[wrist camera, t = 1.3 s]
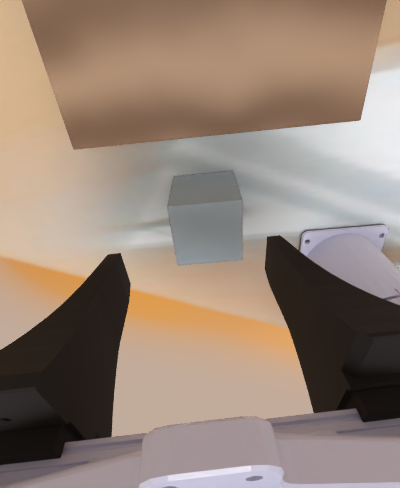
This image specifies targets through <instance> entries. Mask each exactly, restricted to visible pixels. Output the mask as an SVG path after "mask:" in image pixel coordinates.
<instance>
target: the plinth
mask: <svg viewBox="0 0 400 488" xmlns="http://www.w3.org/2000/svg"><path fill="white" fill-rule="evenodd" d="M22 2H23V5H24V8H25V11H26V14H27V17H28V20H29V22H30V25H31V28H32V31H33V34H34V37H35V40H36V43H37V45H38V48H39V51H40V54H41V57H42V60H43V63H44V66H45V69H46V71H47V74H48V77H49V80H50V83H51V86H52V89H53V92H54V94H55V97H56V100H57V103H58V106H59V109H60V112H61V115H62V117H63V120H64V123H65V126H66V129H67V132H68V135H69V138H70V140H71V143H72V146H73V149H84V148H94V147H103V146H113V145H123V144H133V143H143V142H153V141H162V140H172V139H182V138H192V137H202V136H211V135H221V134H231V133H241V132H251V131H261V130H270V129H280V128H290V127H300V126H310V125H320V124H329V123H339V122H349V121H359V120H360V119H361V115H362V110H363V106H364V101H365V96H366V92H367V87H368V83H369V78H370V74H371V69H372V64H373V60H374V55H375V51H376V46H377V42H378V37H379V32H380V28H381V23H382V19H383V14H384V10H385V5H386V0H22Z"/></svg>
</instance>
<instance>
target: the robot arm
mask: <svg viewBox="0 0 400 488" xmlns="http://www.w3.org/2000/svg"><path fill="white" fill-rule="evenodd" d="M387 233H388V227H387V226H386V225H374V226H362V227H350V228H338V229H326V230H314V231H306V232H304V233H303V234H302V238H301V245H300V251H299V250H297V249H296V248H295V247H294V246H292V245H291V244H290V243H289V242H287V241H286V240H285V239H284V238H282V237H281V236H280V235H279V236H270V237H267V247H266V260H265V271H266V274H267V278H268V281H269V284H270V287H271V289H272V292H273V294H274V296H275V299H276V301H277V303H278V305H279V307H280V310H281V312H282V314H283V316H284V319H285V321H286V323H287V325H288V328H289V330H290V333H291V336H292V339H293V342H294V345H295V348H296V352H297V355H298V358H299V361H300V365H301V368H302V371H303V375H304V378H305V382H306V385H307V389H308V392H309V396H310V400H311V404H312V407H313V412H314V413H312V414H304V415H296V416H287V417H278V418H270V419H262V418H259V417H234V418H225V419H217V420H208V421H200V422H191V423H184V424H175V425H167V426H163V427H159V428H155V429H153V430H152V431H150V432H149V433H142V434H134V435H125V436H116V437H111V435H112V414H113V401H114V388H115V377H116V368H117V359H118V351H119V345H120V340H121V336H122V331H123V327H124V322H125V318H126V314H127V308H128V304H129V296H130V281H129V278H128V275H127V271H126V268H125V265H124V262H123V259H122V256H121V253H118V254H109V255H107V256H106V257H105V259H104V260H103V261H102V262H101V263H100V264H99V266H98V267H97V268H96V269H95V270H94V272H93V273H92V274H91V275H90V276H89V277H88V278H87V280H86V281H85V282H84V283H83V284H82V285H81V286H80V287H79V288H78V289H77V290H76V291H75V292H74V293H73V294H72V295H71V296H70V297H69V299H67V300H66V301H65V302H64V303H63V304H62V305H61V306H60V307H59V308H57V309H56V310H55V311H54V312H53V313H52V314H51V315H49V316H48V317H47V318H46V319H44V320H43V321H42V322H40V323H39V324H38V325H37V326H35V327H34V328H32V329H31V330H30V331H28V332H27V333H26V334H24V335H23V336H21V337H20V338H18V339H17V340H16V341H14V342H12V343H11V344H9V345H8V346H6V347H5V348H3V349H1V350H0V488H400V270H399V269H398V268H397V267H396V266H395V265H394V264H393V263H392V262H391V261H390V260H389V259H388V258H387V257H386V256H385V255H384V254H383V253H382V252H381V250H382V247H383V245H384V242H385V239H386V236H387ZM380 234H381V235H380ZM379 235H380V236H379ZM308 239H309V240H308ZM306 240H308V241H307V242H305V241H306Z"/></svg>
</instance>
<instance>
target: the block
mask: <svg viewBox="0 0 400 488" xmlns="http://www.w3.org/2000/svg"><path fill="white" fill-rule="evenodd" d="M167 208H168V214H169V219H170V225H171V231H172V236H173V242H174V247H175V253H176V259H177V264H178V265H188V264H201V263H213V262H226V261H238V260H243V243H242V198H241V195H240V192H239V189H238V186H237V183H236V180H235V177H234V174H233V171H223V172H212V173H202V174H191V175H181V176H174V178H173V182H172V187H171V192H170V196H169V201H168V206H167Z"/></svg>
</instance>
